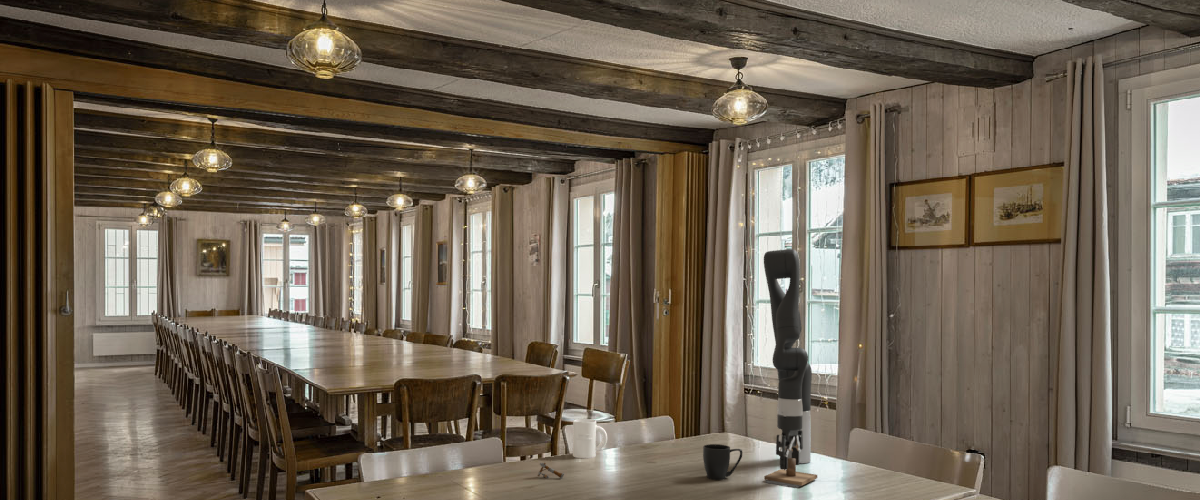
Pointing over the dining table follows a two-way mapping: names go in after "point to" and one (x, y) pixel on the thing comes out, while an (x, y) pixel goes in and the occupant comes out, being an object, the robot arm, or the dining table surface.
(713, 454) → the mug
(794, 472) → the lid
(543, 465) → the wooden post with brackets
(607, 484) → the dining table surface
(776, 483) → the mat
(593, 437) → the mug
